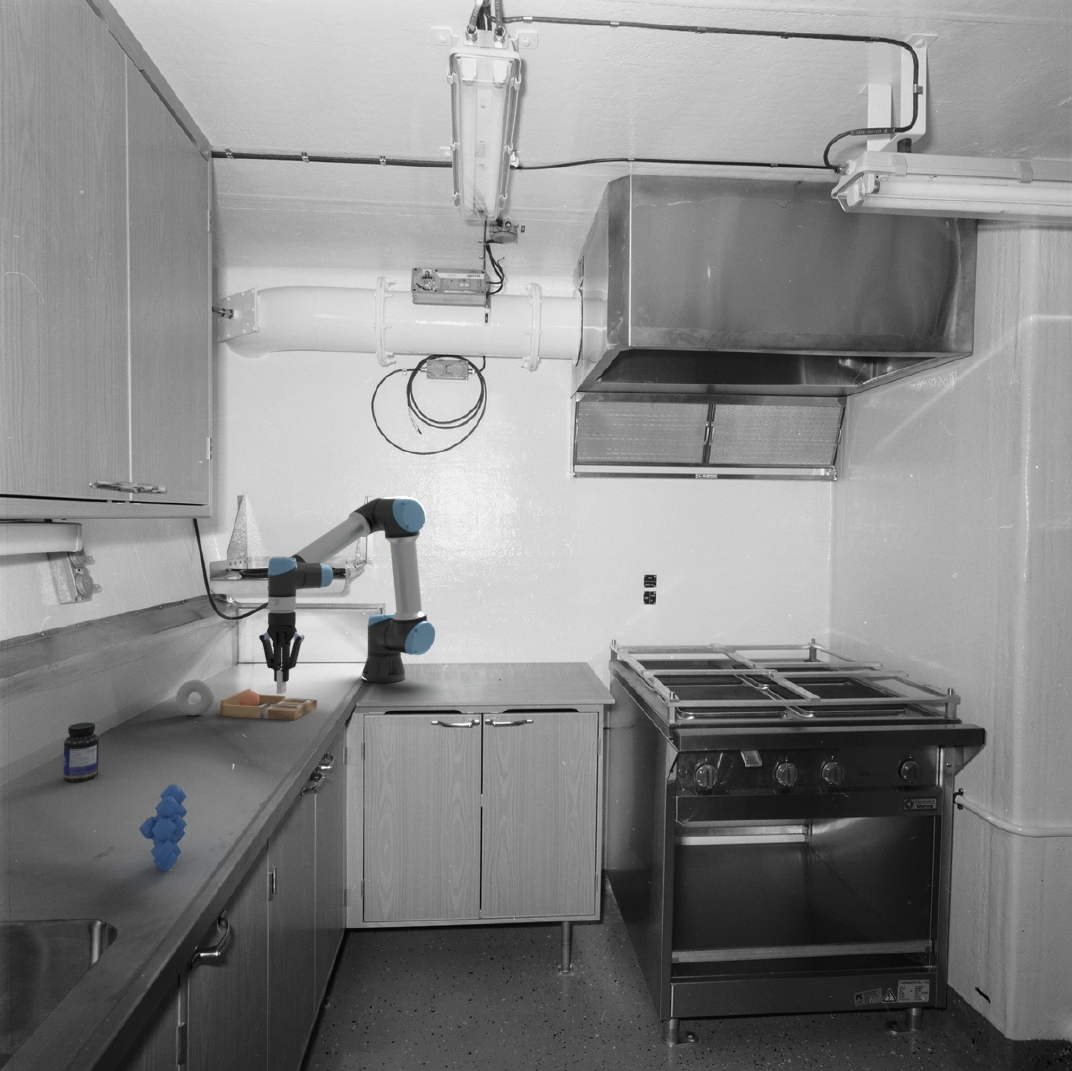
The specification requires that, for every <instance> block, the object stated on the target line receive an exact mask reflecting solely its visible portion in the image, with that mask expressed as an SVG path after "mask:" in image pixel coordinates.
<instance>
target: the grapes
mask: <svg viewBox="0 0 1072 1071" xmlns="http://www.w3.org/2000/svg"><path fill="white" fill-rule="evenodd" d="M160 798H161V800H160V801H159V803H157V805H156V806H155V810H156V812H155V814H156V815H155V816H149V817H147V819H146V820H145V821H144V822H143V823H142V824H141V825H140V827H139V831H140V833H141V834H142V836H143V837H144V838H145V839H147V840H148V839H149V840H152V841H153V842H152V844H153V845H154V846H153V847H152V849H151V850H150V852H151V854H152V856H153V857H154V859H153V862H154V864H155V866H156V868H157V869H158V870H159V871H161V872H163V871H164V872H167V871H168V870H169V869H170V868H172V866H173V865H174V864H175V863H176V862H177V860H178V857H179V856H180V854H181V853H182V850H181V848H180V847H179V845H178V844H179V842H180V841H181V840H182V838H183V837H184V836H185V834H186V832H185V830H184V829H185V828H186V826H187V822H186V821H185V820H184V817H185V816H186V815H187V813H188V811H187V809H186V808H185V806H184V804H182V803H183V802H184V801H185V799H186V798H187V794H186V793H185V792H184V790H183V789H182V788H181V787H179V786H178V785H177V784H174V783H171V784H170V785H168V786H167V787H165V789H164V790H163V791H162V793H161V794H160Z"/></svg>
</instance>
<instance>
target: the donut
mask: <svg viewBox="0 0 1072 1071" xmlns="http://www.w3.org/2000/svg"><path fill="white" fill-rule="evenodd" d="M192 693H198V694H199V695H200V700H199V701H198V702H192V700H190V696H191V695H192ZM214 699H215V693H214V689H213V687H212V686H211V685H210V684H209V683H208V682H206V681H204V680H201V679H193V680H188V681H186V682H184V683H183V684H182V685H181V686H180V687H179V689H178V690H177V692H176V696H175V702H176V705H177V707H178V709H179V710H180V711H181V712H182V713H184V714H185V715H188V716H194V717H195V716H200V715H202V714H205V713H207V711H209V710H210V709H211V707H212V705H213V704H214V701H215V700H214Z"/></svg>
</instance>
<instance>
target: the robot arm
mask: <svg viewBox="0 0 1072 1071" xmlns="http://www.w3.org/2000/svg"><path fill="white" fill-rule="evenodd" d="M424 508H425V507H424V506H423V505H422V503H421V502H420V501H419V500H417V499H416V498H414V497H410V496H403V495H402V496H391V497H390V496H381V497H377V498H375V499H372V500H370V501H368V502H366V503H364V504H363V505H361V506H359V507H358V508H357V509H355V510H354V511H352V512H351V513H349V515H348V518H347V519H345V520H344V521H342V522H340V523H339V524H338V525H336V526H335V527H333V528H332V529H330V530H329V531H327V532H326V533H324V534H323V535H320V537H318V538H317V539H315V540H314V541H313V542H311V543H309V544H308V545H306V546H305V547H303V548H302V549H300V550H298V551H297V552H296V553H294V554H292V555H291V556H290V557H288V556H287V557H286V556H285V557H284V556H283V557H282V556H281V557H280V556H279V557H272V558H270V559H269V560H268V566H267V567H268V568H267V569H268V570H267V585H268V586H267V590H268V591H267V593H268V594H267V595H268V597H267V599H268V600H267V610H268V611H269V612H268V613H267V625H268V627H267V629H266V632H264V633H263V634H260V635H259V636H258V639H259V640H260V642H261V643H262V647H263V652H264V657H265V660H266V661H265V662H266V666H267V668H268V669H271V670H273V680H274V682H275V683H276V694H277V695H283V694H285V693H287V682H289V680H290V670H292V669H294V668H295V667H297V662H298V658H299V653H300V649H301V645H302V642H304V639H305V635H304V634H300V633H298V630H297V628H296V621H297V619H296V618H297V617H296V616H297V615H296V614H297V613H296V611H295V610H296V609H297V590H303V589H304V590H305V589H321V588H322V589H323V588H327V587H330V585H331V584H332V582H333V579H334V571H333V568H332V566H331V565H330V564H329V563H327V561H329V560H330V559H331V558H333V557H334V556H336V555H338V554H339V553H340V552H341V551H343V550H345V549H346V548H347V547H348V546H350V545H351V544H353V543H355V542H356V541H358V540H359V539H360V538H366V537H369V536H371V534H373V533H377V532H384V539H386V540H387V541H388V542H389V543H390V553H391V566H392V567H391V568H392V577H393V588H394V589H393V590H394V598H395V599H394V600H395V613H385V614H384V613H383V614H382V613H381V614H374V615H371V616H369V618H368V624H367V658H366V661H365V664H364V667H363V669H362V672H361V677H362V676H363V677H364V678H366V679H367V681H366V682H369V683H375V684H376V683H377V684H378V683H380V684H381V683H384V684H385V683H394V682H400V681H403V680H405V679H406V669H405V666H404V662H403V660H402V654H405V655H406V654H407V655H410V656H413V655H414V656H420V655H421V656H422V655H424V654H426V653H427V652H428V651H429V650H430V649H431V647H432V646H433V645H434V642H435V639H436V638H435V637H436V629H435V627H434V625H433V624H432V623H431V622H430V621H429V620H428V618H427V612H426V611H424V610H423V609H422V598H421V597H422V596H421V586H420V584H421V583H420V575H419V563H418V550H417V539H418V538H419V537H420V536H421V532H420V531H421V530H422V529H423V527H424V524H425V523H426V518H427V517H426V511H425V509H424ZM292 640H293V641H294V642H293V645H292V647H291V644H292V642H291V641H292ZM271 642H272V643H271ZM272 647H273V648H272Z"/></svg>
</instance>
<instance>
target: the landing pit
mask: <svg viewBox="0 0 1072 1071" xmlns="http://www.w3.org/2000/svg"><path fill="white" fill-rule="evenodd" d="M247 691H252V690H251V688H247V689H244V690H242V691H239V692H237V693H234V694H232V695H229V696H227V697H225V698H222V699H220V701H219V706H220V711H219V716H220V717H235V718H251V719H253V718H254V719H265V718H264V709H266V708H269V707H270V704H277V703H279V702H281V701H282V699H286V695H281V694H277V695H276V694H274V695H273V694H262V693H261V694H258V693H257V694H258V695H259V698H260V701H259V704H258V706H245V705H240V703H239V700H240V697H241V695H242V694H243V693H245V692H247Z"/></svg>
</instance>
